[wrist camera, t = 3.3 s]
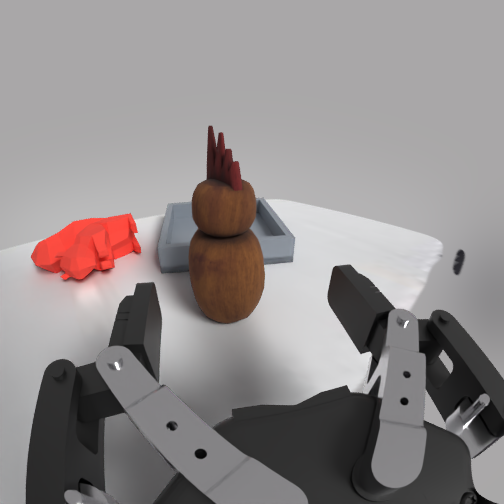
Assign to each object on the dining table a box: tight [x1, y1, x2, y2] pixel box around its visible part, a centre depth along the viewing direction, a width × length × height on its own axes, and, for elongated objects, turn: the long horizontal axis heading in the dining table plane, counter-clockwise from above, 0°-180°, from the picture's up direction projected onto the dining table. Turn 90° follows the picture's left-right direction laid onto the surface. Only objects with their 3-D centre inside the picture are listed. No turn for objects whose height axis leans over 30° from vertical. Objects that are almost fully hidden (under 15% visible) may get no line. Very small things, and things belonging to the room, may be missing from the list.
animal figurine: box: [31, 214, 141, 280], centre depth 28 cm, size 12×15×5 cm
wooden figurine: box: [188, 126, 265, 323], centre depth 20 cm, size 7×6×15 cm
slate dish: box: [158, 198, 295, 273], centre depth 35 cm, size 15×15×3 cm
